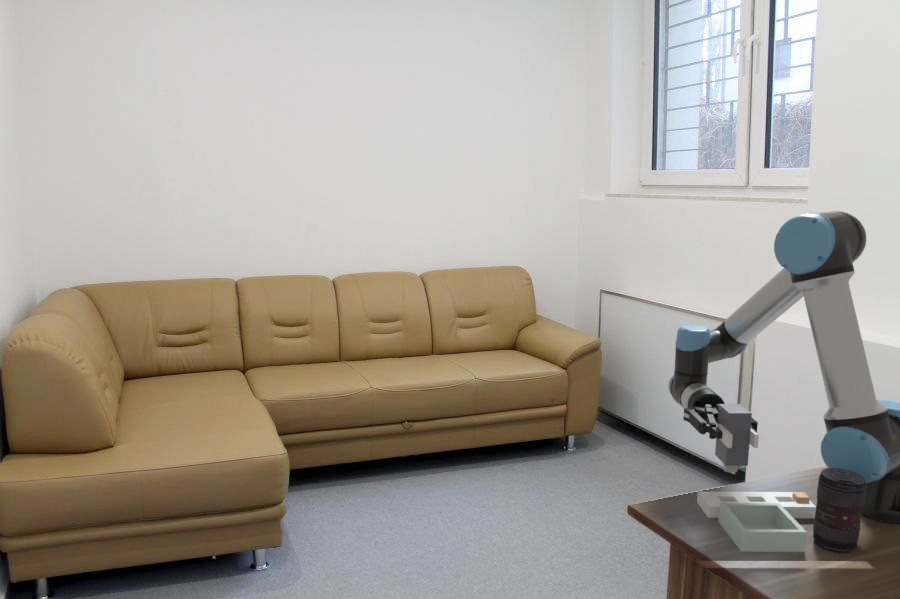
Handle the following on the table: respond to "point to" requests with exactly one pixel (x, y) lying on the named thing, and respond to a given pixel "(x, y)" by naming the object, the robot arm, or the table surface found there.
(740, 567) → the table surface
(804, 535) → the bin
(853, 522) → the camera lens
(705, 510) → the strip
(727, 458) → the tall grey pillar
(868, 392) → the robot arm
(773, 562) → the table surface
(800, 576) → the table surface
